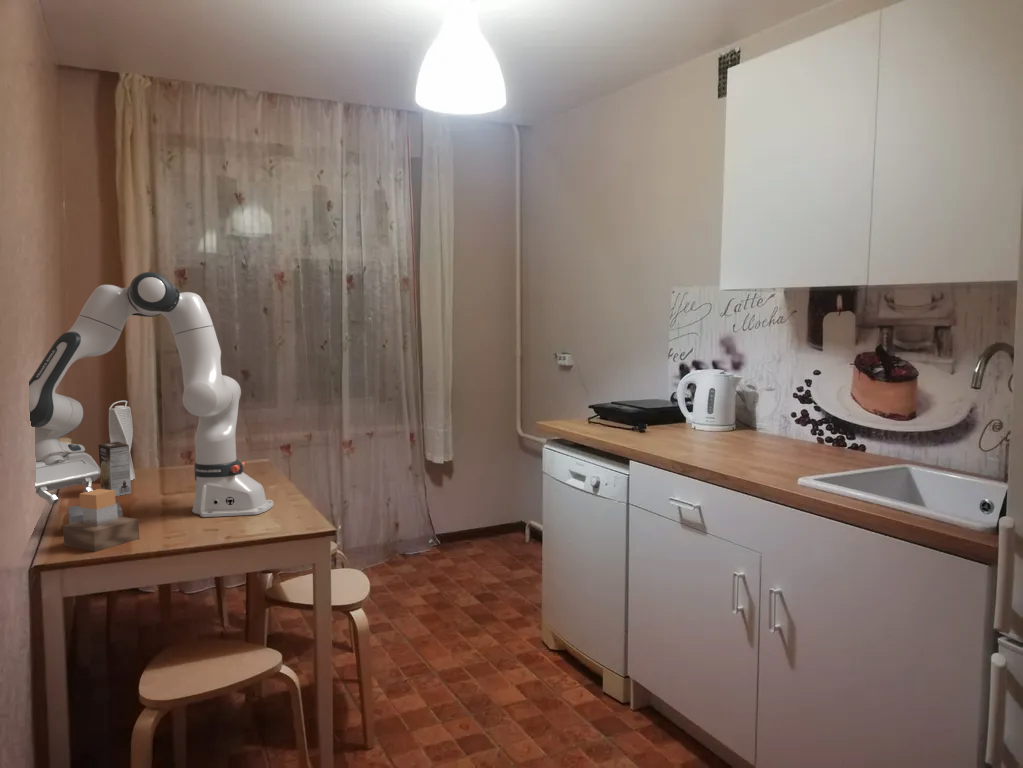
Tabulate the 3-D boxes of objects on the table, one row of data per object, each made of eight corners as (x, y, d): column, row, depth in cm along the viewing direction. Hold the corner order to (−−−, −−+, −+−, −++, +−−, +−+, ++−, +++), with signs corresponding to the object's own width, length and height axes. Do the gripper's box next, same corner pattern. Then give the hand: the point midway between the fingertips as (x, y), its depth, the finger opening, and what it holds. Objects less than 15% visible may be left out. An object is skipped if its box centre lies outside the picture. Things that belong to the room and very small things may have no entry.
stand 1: (118, 518, 212) (117, 500, 212) (123, 527, 202) (122, 509, 202) (69, 524, 206) (68, 506, 205) (71, 535, 196) (70, 516, 195)
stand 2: (108, 532, 198) (107, 514, 197) (139, 538, 192) (138, 519, 192) (64, 545, 187) (62, 525, 187) (95, 551, 182) (93, 531, 181)
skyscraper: (118, 479, 265) (113, 400, 262) (140, 479, 265) (136, 400, 262) (104, 484, 257) (99, 403, 254) (127, 484, 256) (122, 402, 254)
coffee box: (100, 493, 243) (97, 443, 242) (121, 489, 248) (118, 441, 246) (111, 497, 237) (108, 447, 235) (132, 493, 242) (129, 444, 240)
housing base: (104, 518, 193) (102, 501, 192) (118, 521, 190) (116, 503, 190) (83, 523, 188) (82, 506, 188) (97, 526, 185) (96, 508, 185)
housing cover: (99, 502, 191) (98, 488, 191) (115, 504, 189) (114, 490, 189) (80, 507, 186) (79, 493, 186) (96, 509, 184) (95, 495, 184)
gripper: (10, 456, 187) (36, 499, 183) (88, 444, 205) (114, 482, 201) (0, 473, 189) (26, 515, 186) (79, 458, 207) (104, 497, 204)
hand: (72, 498), depth 194 cm, fingers open, 8 cm apart
